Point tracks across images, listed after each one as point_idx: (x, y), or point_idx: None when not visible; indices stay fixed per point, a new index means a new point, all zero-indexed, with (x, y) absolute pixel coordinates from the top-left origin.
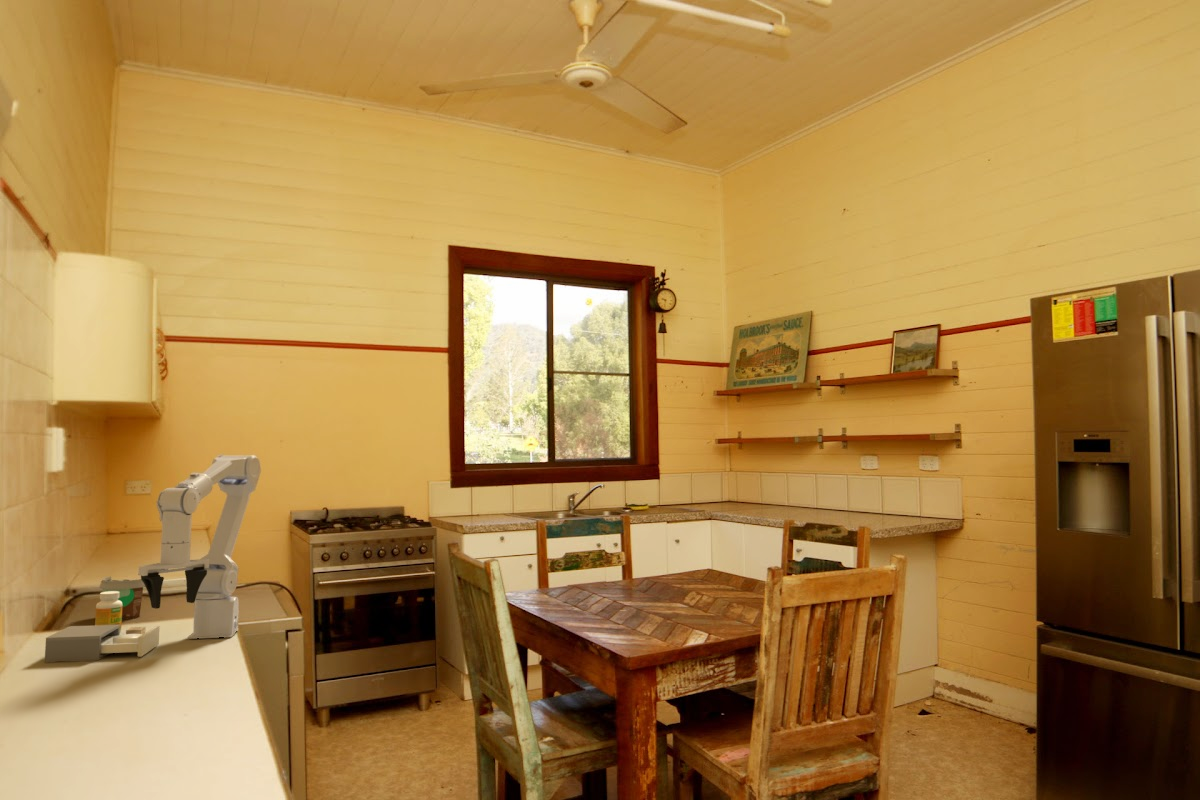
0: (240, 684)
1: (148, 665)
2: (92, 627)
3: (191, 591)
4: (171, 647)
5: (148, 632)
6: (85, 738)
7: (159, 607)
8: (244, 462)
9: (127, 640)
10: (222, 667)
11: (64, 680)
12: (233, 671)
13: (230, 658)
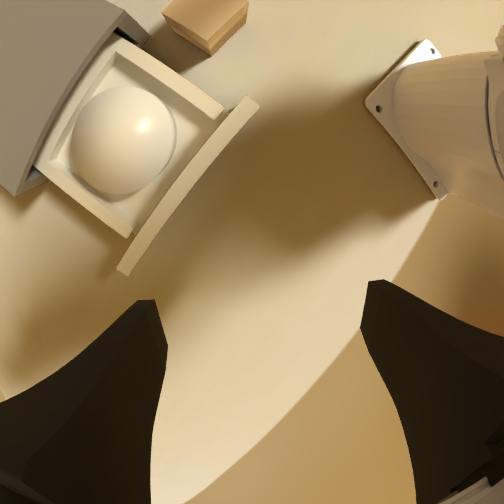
0: (225, 464)
1: None
2: (42, 15)
3: (392, 364)
4: (273, 166)
5: (167, 211)
6: None
7: (166, 350)
8: None
9: (103, 189)
10: (252, 415)
11: (9, 304)
12: (251, 435)
13: (301, 381)
